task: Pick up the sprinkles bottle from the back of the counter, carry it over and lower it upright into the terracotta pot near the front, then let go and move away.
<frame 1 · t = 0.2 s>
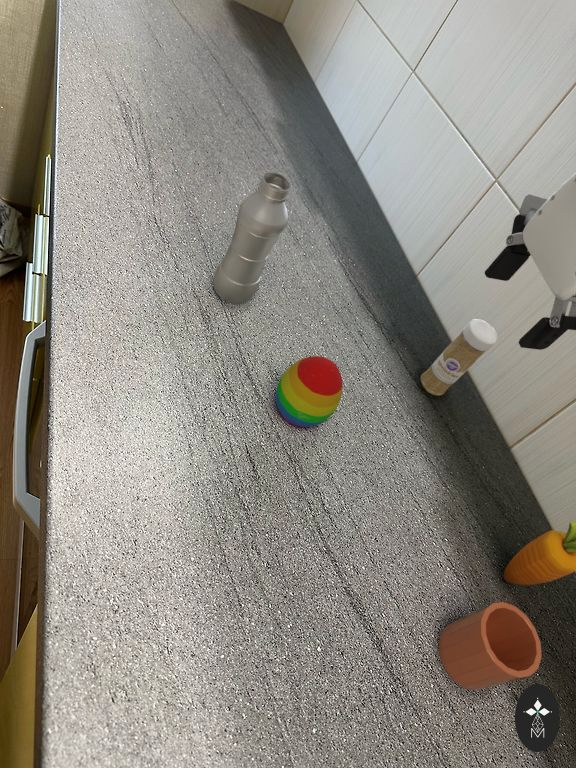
hand: (511, 310, 61), 26 cm above the worktop, tool pointing down, fingers open, 9 cm apart
plastic bottle: (231, 293, 85), on the worktop
carrot: (503, 579, 73), on the worktop
sprinkles bottle: (431, 385, 89), on the worktop
decorative egg: (297, 409, 77), on the worktop
terracotta pot: (466, 654, 65), on the worktop
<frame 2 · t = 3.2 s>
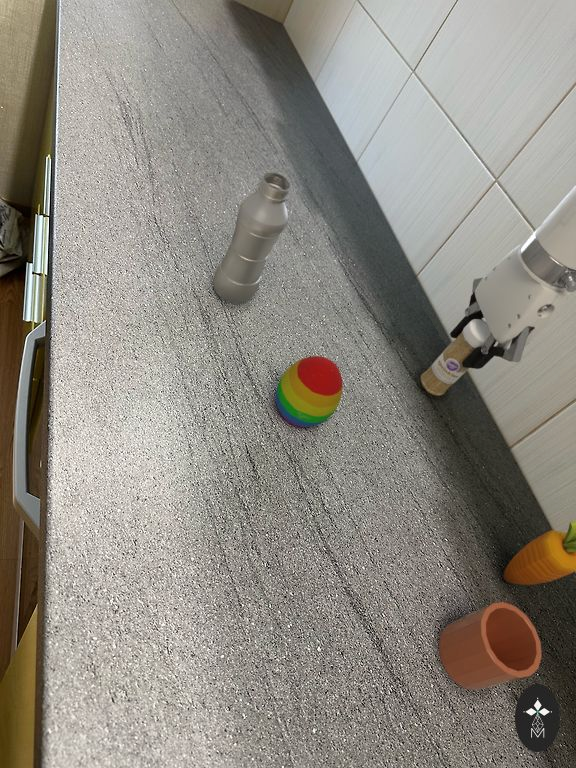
hand: (465, 350, 83), 9 cm above the worktop, tool pointing down, fingers closed on sprinkles bottle, 4 cm apart
sprinkles bottle: (431, 385, 89), on the worktop, touching gripper
everything else where it was.
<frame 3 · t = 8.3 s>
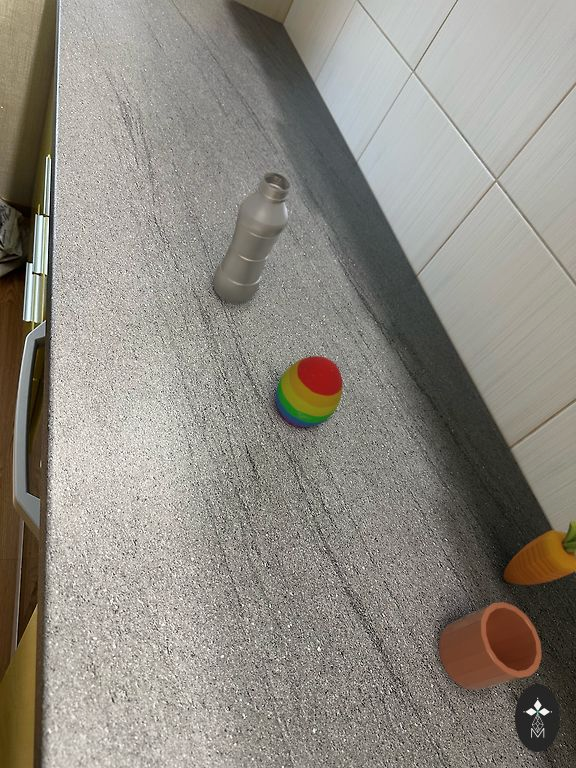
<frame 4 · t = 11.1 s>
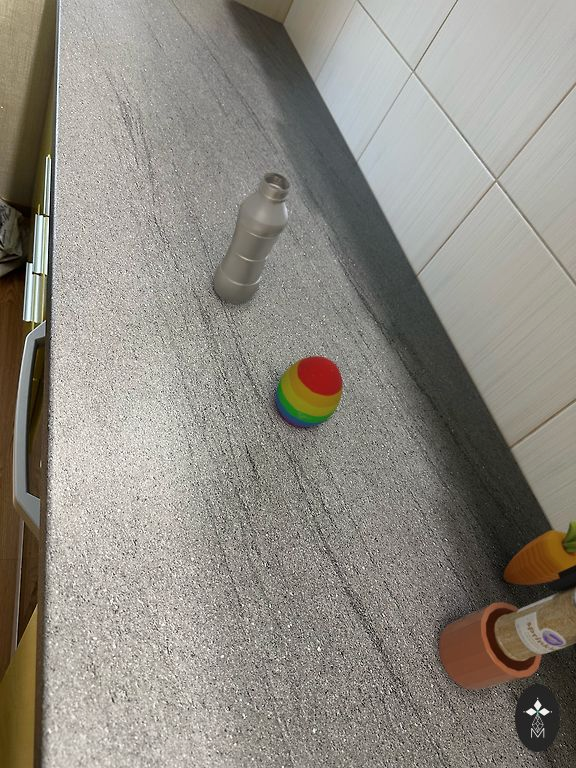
hand: (573, 615, 52), 17 cm above the worktop, tool pointing down, fingers closed on sprinkles bottle, 4 cm apart
sprinkles bottle: (510, 638, 59), point 8 cm above the worktop, touching gripper
everything else where it was.
when the fingers open (10 cm above the worktop, at t = 13.3 s): sprinkles bottle stays where it is, resting on terracotta pot.
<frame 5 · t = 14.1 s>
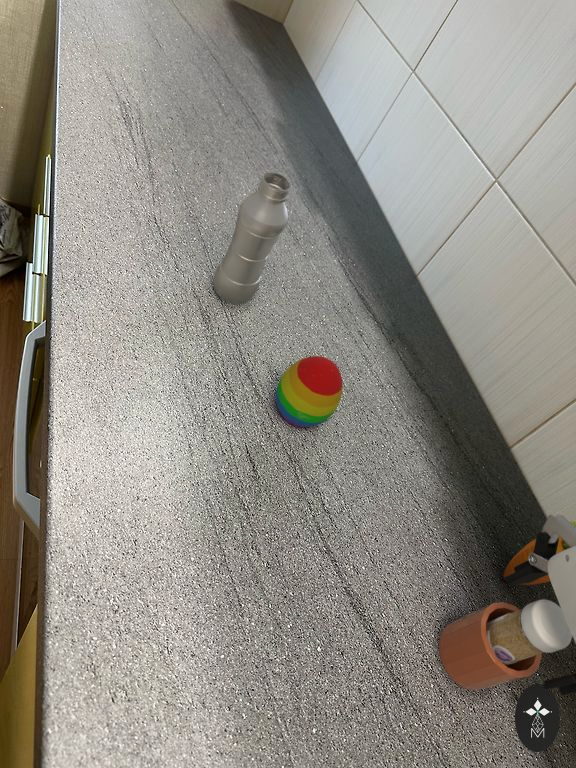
hand: (534, 630, 56), 11 cm above the worktop, tool pointing down, fingers open, 9 cm apart
sprinkles bottle: (469, 653, 65), point 1 cm above the worktop, touching terracotta pot
everything else where it was.
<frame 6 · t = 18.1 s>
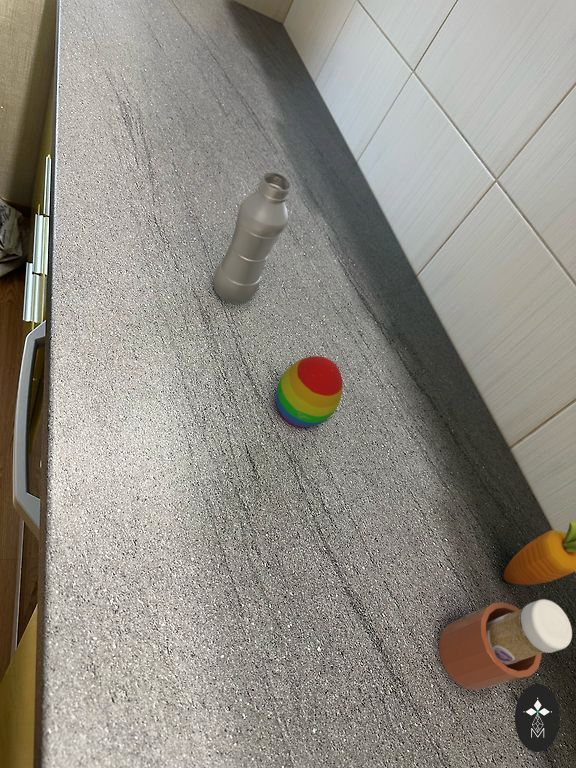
nothing on the worktop moved.
at the end: sprinkles bottle 0.0 cm off-centre in the terracotta pot, point 0.6 cm above the terracotta pot's base; sprinkles bottle tilted 0°; the gripper is holding nothing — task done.
